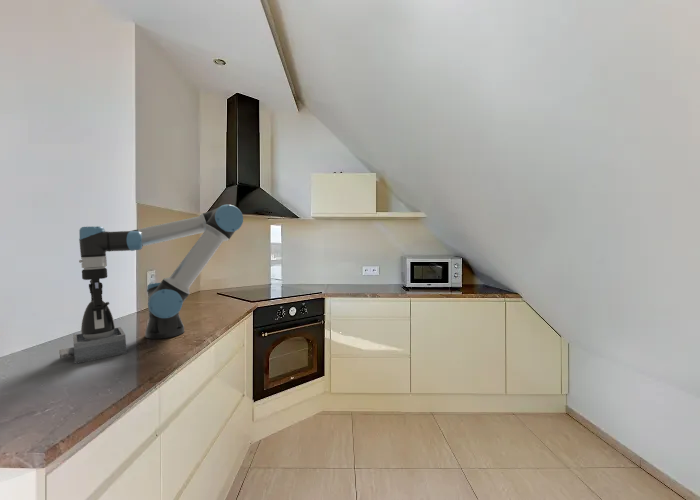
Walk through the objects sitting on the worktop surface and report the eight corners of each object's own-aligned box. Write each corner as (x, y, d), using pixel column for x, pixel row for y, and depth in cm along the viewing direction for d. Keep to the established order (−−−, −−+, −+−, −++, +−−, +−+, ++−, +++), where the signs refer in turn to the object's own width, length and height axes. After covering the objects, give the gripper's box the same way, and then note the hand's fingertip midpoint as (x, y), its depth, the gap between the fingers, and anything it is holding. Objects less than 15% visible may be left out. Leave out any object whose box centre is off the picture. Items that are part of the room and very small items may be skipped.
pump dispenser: (98, 344, 123) (95, 302, 122) (74, 343, 125) (71, 302, 124) (122, 336, 133) (120, 297, 132) (100, 335, 135) (97, 297, 134)
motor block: (121, 344, 140) (120, 327, 139) (126, 353, 128) (125, 334, 128) (60, 355, 128) (59, 337, 127) (59, 366, 116) (58, 346, 116)
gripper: (80, 267, 135) (84, 320, 136) (82, 271, 116) (87, 333, 117) (104, 265, 140) (107, 317, 141) (109, 269, 120) (113, 329, 121)
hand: (98, 324), depth 129 cm, fingers open, 13 cm apart
